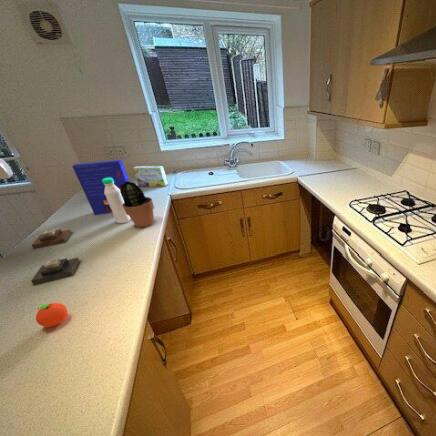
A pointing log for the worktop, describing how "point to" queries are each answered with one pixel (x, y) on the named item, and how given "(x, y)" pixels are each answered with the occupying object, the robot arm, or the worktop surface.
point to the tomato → (51, 314)
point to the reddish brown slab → (52, 239)
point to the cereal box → (99, 181)
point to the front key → (53, 263)
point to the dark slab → (56, 271)
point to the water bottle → (115, 200)
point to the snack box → (150, 175)
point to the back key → (49, 232)
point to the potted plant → (137, 205)
